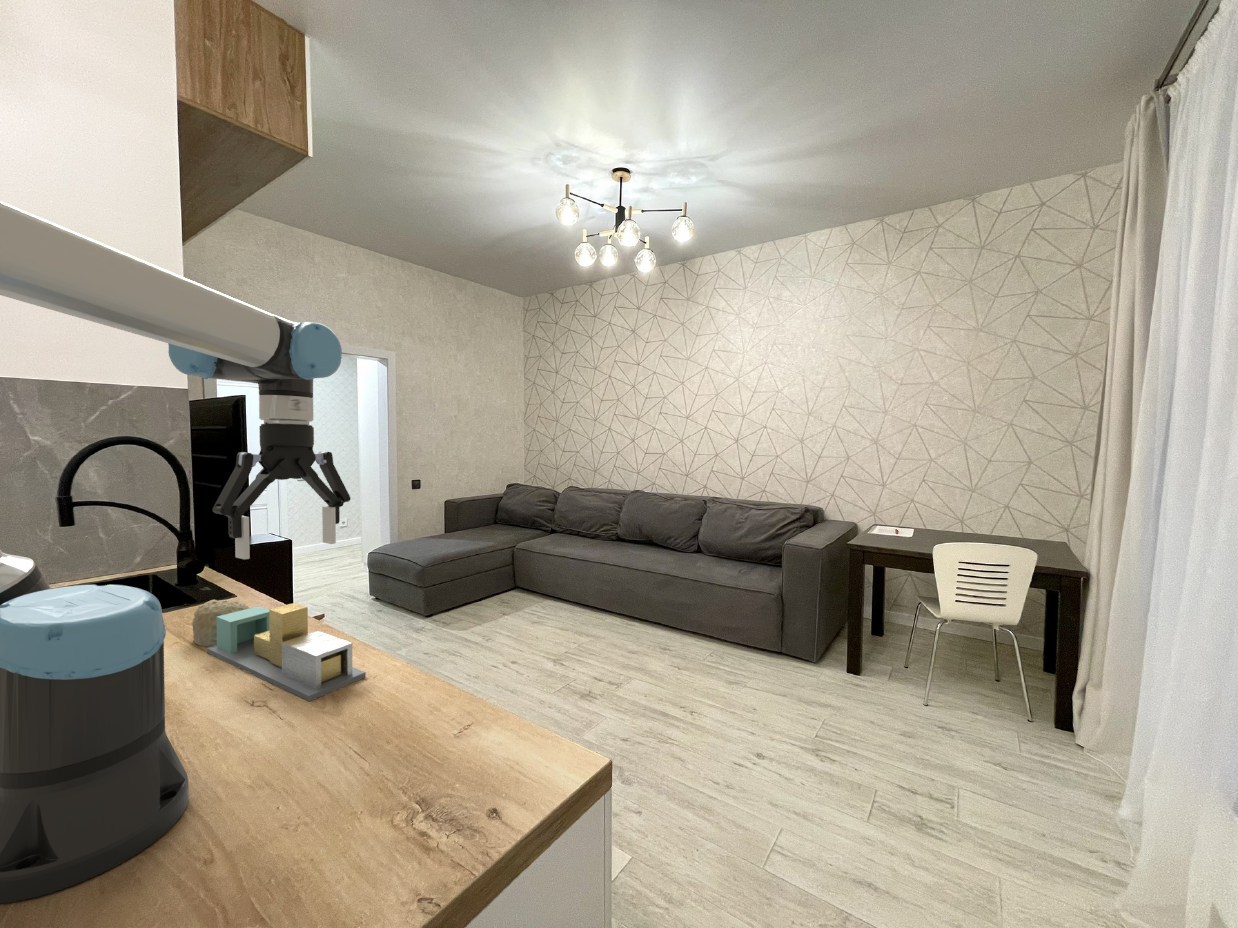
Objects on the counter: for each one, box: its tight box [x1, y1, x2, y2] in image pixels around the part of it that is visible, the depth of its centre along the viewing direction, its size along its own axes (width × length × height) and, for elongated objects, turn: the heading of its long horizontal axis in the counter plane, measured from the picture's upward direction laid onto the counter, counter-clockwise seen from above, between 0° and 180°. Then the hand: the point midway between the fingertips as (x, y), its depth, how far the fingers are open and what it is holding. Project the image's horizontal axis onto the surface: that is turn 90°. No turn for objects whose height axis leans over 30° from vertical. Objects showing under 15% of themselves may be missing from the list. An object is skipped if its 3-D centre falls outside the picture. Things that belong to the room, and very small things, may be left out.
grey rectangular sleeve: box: [282, 630, 353, 689], centre depth 81 cm, size 6×10×5 cm, turn 61°
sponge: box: [192, 599, 250, 647], centre depth 97 cm, size 9×10×10 cm
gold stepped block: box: [254, 602, 341, 682], centre depth 84 cm, size 4×20×9 cm, turn 61°
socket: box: [216, 605, 269, 654], centre depth 92 cm, size 7×5×6 cm
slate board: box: [206, 638, 367, 702], centre depth 86 cm, size 9×32×1 cm, turn 61°
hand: (288, 550), depth 84 cm, fingers open, 13 cm apart
